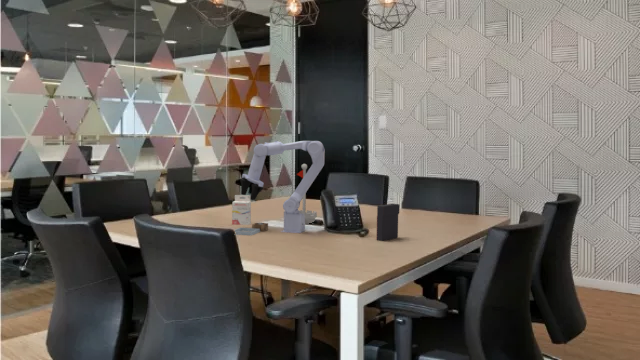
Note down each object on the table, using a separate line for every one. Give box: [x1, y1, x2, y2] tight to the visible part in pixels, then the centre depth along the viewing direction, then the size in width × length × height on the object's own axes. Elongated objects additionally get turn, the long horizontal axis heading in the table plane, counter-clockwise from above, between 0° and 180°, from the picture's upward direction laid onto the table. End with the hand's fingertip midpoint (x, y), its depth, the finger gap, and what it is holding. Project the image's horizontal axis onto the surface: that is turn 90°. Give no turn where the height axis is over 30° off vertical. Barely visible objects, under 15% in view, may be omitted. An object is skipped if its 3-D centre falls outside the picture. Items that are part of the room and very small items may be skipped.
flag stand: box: [296, 163, 318, 225], centre depth 287 cm, size 13×13×30 cm
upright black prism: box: [376, 203, 400, 242], centre depth 243 cm, size 11×4×15 cm, turn 135°
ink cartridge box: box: [231, 194, 252, 226], centre depth 277 cm, size 9×5×15 cm, turn 84°
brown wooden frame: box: [251, 222, 269, 232], centre depth 260 cm, size 7×6×3 cm
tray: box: [234, 227, 261, 236], centre depth 252 cm, size 10×10×2 cm
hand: (247, 197), depth 260 cm, fingers open, 7 cm apart
